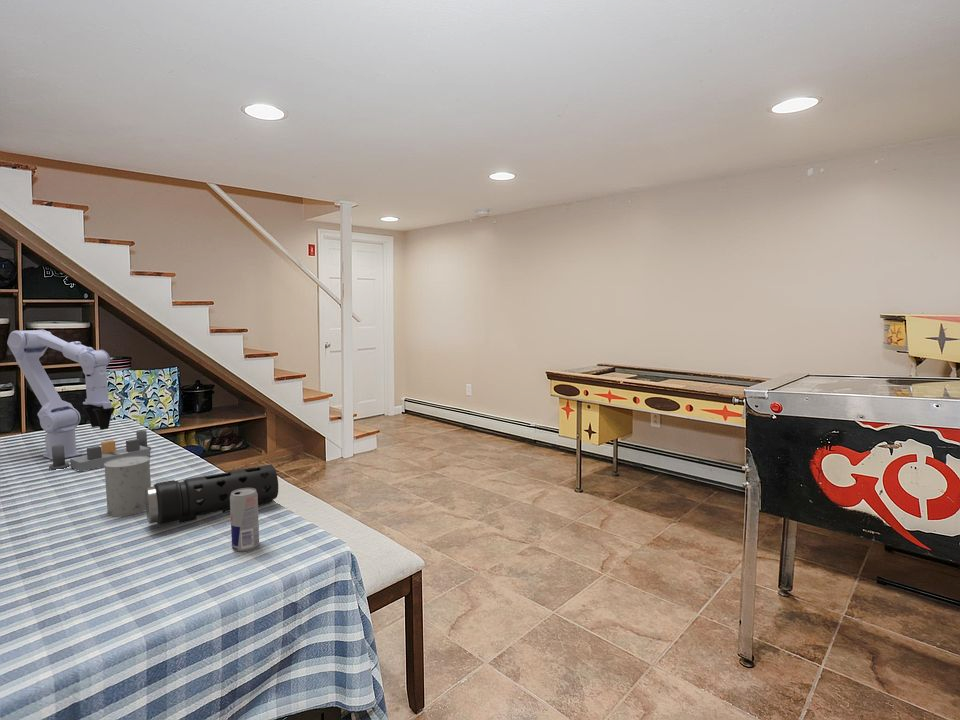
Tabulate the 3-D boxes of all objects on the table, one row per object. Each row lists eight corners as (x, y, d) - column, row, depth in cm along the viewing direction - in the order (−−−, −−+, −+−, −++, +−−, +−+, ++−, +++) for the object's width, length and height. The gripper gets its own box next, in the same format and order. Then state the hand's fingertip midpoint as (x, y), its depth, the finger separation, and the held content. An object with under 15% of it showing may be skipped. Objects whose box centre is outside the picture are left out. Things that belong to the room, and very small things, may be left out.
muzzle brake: (279, 507, 134) (278, 468, 133) (151, 536, 117) (148, 491, 116) (268, 496, 142) (267, 459, 141) (146, 522, 124) (143, 480, 123)
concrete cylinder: (103, 518, 126) (100, 469, 125) (110, 505, 134) (107, 458, 133) (150, 512, 130) (148, 463, 129) (154, 499, 139) (151, 454, 138)
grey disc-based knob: (46, 469, 164) (44, 447, 163) (65, 465, 168) (64, 443, 167) (52, 471, 161) (51, 449, 160) (72, 467, 165) (70, 446, 164)
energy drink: (237, 541, 115) (235, 487, 113) (262, 540, 115) (260, 487, 114) (227, 552, 109) (225, 496, 108) (254, 551, 110) (252, 495, 109)
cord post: (131, 451, 184) (130, 432, 183) (146, 448, 188) (145, 429, 187) (138, 453, 181) (137, 434, 180) (153, 450, 185) (152, 431, 184)
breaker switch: (101, 452, 171) (101, 442, 170) (113, 450, 173) (112, 440, 173) (104, 453, 170) (103, 443, 169) (115, 451, 172) (115, 441, 172)
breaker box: (71, 468, 164) (69, 448, 164) (140, 453, 181) (139, 435, 180) (80, 472, 161) (78, 451, 160) (150, 457, 177) (149, 438, 177)
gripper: (73, 387, 173) (76, 427, 175) (92, 390, 165) (95, 433, 167) (97, 384, 179) (101, 423, 181) (117, 387, 171) (120, 428, 173)
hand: (100, 427), depth 174 cm, fingers open, 6 cm apart
